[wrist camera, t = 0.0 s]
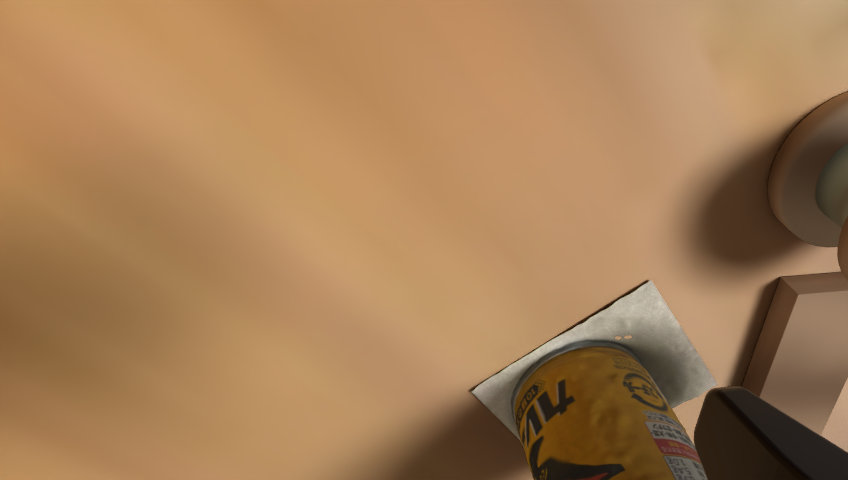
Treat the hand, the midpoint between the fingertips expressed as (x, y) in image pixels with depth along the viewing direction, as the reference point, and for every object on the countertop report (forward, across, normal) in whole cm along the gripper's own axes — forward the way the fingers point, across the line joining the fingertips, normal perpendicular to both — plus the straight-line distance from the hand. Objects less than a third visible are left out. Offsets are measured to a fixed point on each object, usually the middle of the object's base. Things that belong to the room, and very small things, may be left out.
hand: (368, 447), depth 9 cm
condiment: (+15, -11, +14) cm, 23 cm away
